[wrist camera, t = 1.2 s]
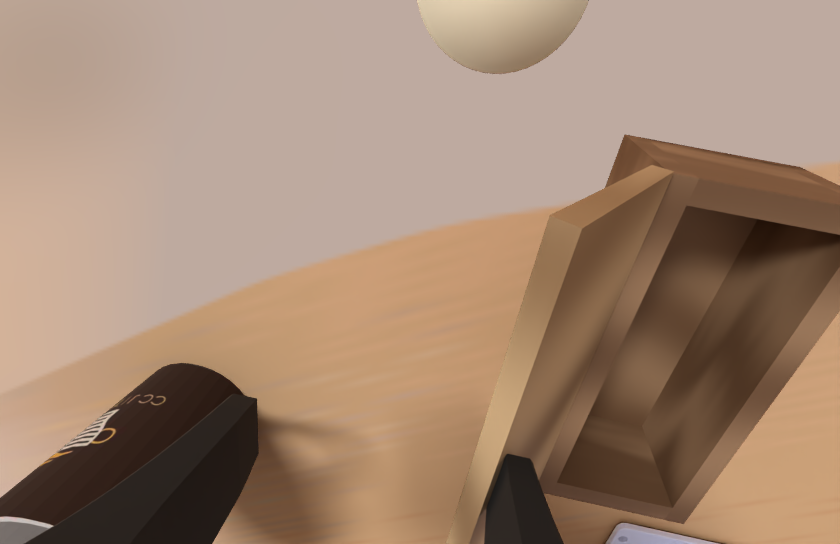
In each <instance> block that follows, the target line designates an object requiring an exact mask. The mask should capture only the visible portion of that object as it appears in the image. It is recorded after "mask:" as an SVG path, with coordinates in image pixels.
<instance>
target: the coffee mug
mask: <svg viewBox="0 0 840 544" xmlns="http://www.w3.org/2000/svg"><path fill="white" fill-rule="evenodd" d="M232 394H238V395H243V394H242V392H241V391H240V390H239V389H238V388H237V387H236V386H235V385H234V384H233V383H232V382H231V381H229V380H228V379H226V378H225V377H224V376H222V375H221V374H219V373H217V372H215V371H213V370H211V369H208V368H205V367H202V366H199V365H194V364H186V363H177V364H170V365H167V366H165V367H162V368H161V369H159V370H158V371H156V372H155V373H154V374H153V375H151V376H150V377H149V378H148V379H146V380H145V381H144V382H143V383H142V384H140V385H139V386H138V387H137V388H135V389H134V390H133V391H132V392H130V393H129V394H128V395H127V396H125V397H124V398H123V399H122V400H121V401H119V402H118V403H117V404H116V405H114V406H113V407H112V408H111V409H109V410H108V411H107V412H106V413H105V414H103V415H102V416H101V417H100V418H98V419H97V420H96V421H95V422H93V423H92V424H91V425H90V426H88V427H87V428H86V429H85V430H84V431H82V432H81V433H80V434H79V435H77V436H76V437H75V438H74V439H72V440H71V441H70V442H69V443H67V444H66V445H65V446H64V447H63V448H61V449H60V450H59V451H58V452H56V453H55V454H54V455H53V456H51V457H50V458H49V459H48V460H47V461H45V462H44V463H43V464H42V465H40V466H39V467H38V468H37V469H35V470H34V471H33V472H32V473H30V474H29V475H28V476H27V477H26V478H24V479H23V480H22V481H21V482H19V483H18V484H17V485H16V486H14V487H13V488H12V489H11V490H10V491H8V492H7V493H6V494H5V495H3V496H2V497H1V498H0V544H24V543H26V542H27V541H29V540H31V539H32V538H34V537H36V536H38V535H39V534H41V533H43V532H44V531H46V530H48V529H49V528H51V527H53V526H54V525H56V524H58V523H59V522H61V521H63V520H64V519H66V518H67V517H69V516H71V515H72V514H74V513H75V512H77V511H78V510H80V509H82V508H83V507H85V506H86V505H88V504H89V503H91V502H92V501H94V500H95V499H97V498H98V497H100V496H101V495H103V494H104V493H106V492H107V491H109V490H110V489H112V488H113V487H114V486H116V485H117V484H119V483H120V482H121V481H123V480H124V479H125V478H127V477H128V476H130V475H131V474H132V473H134V472H135V471H137V470H138V469H139V468H141V467H142V466H143V465H145V464H146V463H148V462H149V461H150V460H152V459H153V458H154V457H156V456H157V455H158V454H159V453H161V452H162V451H163V450H164V449H166V448H167V447H168V446H170V445H171V444H172V443H173V442H175V441H176V440H177V439H179V438H180V437H181V436H182V435H184V434H185V433H186V432H187V431H188V430H190V429H191V428H192V427H193V426H195V425H196V424H197V423H198V422H199V421H201V420H202V419H203V418H204V417H205V416H207V415H208V414H209V413H210V412H211V411H213V410H214V409H215V408H216V407H217V406H218V405H220V404H221V403H222V402H223V401H224V400H226V399H227V398H228V397H229V396H231V395H232ZM243 396H244V395H243Z"/></svg>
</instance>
